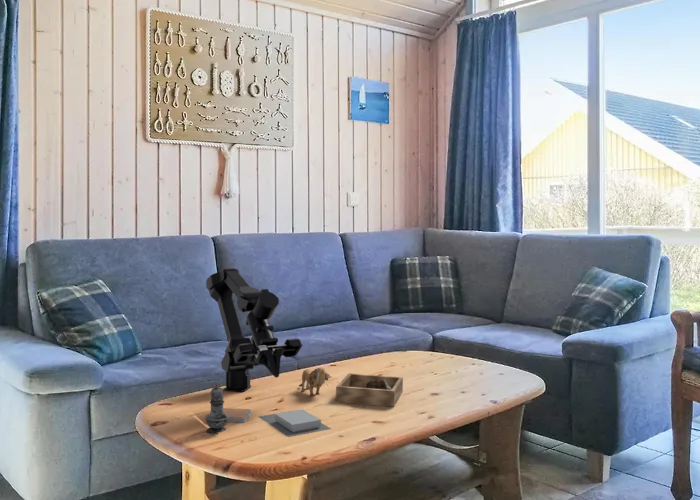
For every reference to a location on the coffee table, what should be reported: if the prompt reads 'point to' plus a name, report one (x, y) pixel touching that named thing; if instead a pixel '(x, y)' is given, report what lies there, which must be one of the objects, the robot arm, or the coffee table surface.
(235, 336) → the robot arm
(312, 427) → the tile
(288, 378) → the coffee table surface
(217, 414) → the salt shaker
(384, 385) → the rock sample
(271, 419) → the mat
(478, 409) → the coffee table surface
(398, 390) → the box
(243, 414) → the tile
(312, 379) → the lion figurine
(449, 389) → the coffee table surface
